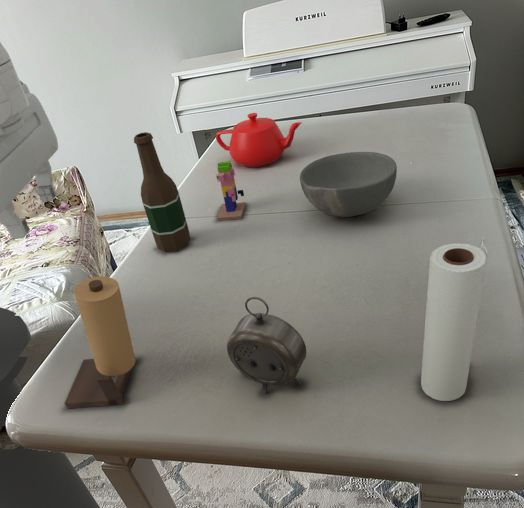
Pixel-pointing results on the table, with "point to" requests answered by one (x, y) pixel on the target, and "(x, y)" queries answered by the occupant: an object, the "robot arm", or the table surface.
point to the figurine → (229, 193)
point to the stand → (95, 388)
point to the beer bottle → (161, 199)
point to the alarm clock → (266, 349)
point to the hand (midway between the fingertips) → (36, 216)
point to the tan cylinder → (105, 325)
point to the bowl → (349, 182)
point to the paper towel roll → (451, 318)
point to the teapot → (257, 141)
